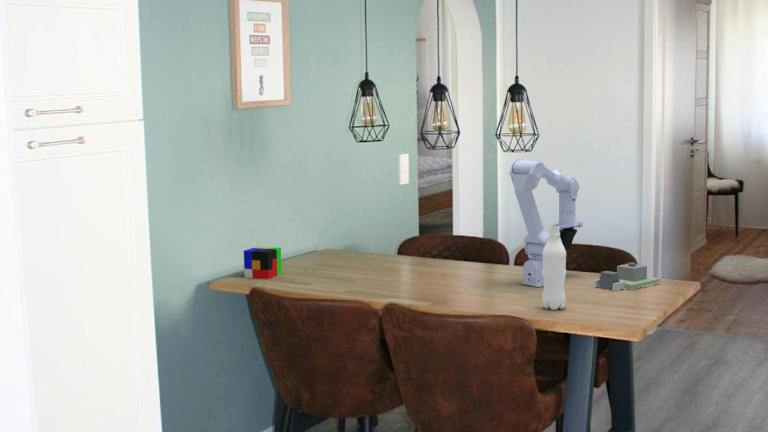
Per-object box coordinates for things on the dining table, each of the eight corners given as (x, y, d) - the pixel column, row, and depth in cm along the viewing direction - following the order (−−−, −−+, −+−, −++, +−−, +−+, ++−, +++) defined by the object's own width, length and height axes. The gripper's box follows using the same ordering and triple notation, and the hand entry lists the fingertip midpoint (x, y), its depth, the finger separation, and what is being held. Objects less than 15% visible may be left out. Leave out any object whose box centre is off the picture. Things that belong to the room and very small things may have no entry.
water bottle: (551, 311, 287) (552, 229, 283) (537, 307, 293) (537, 226, 290) (570, 308, 290) (571, 227, 287) (556, 304, 296) (556, 224, 293)
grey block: (611, 290, 316) (612, 274, 315) (599, 288, 319) (599, 272, 319) (619, 288, 318) (619, 272, 317) (606, 286, 322) (607, 270, 321)
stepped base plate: (621, 292, 312) (621, 271, 311) (589, 286, 322) (589, 265, 321) (660, 283, 325) (660, 262, 324) (628, 278, 335) (629, 258, 334)
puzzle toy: (244, 277, 349) (243, 250, 348) (258, 272, 359) (257, 246, 357) (268, 279, 346) (267, 252, 344) (281, 274, 355) (280, 247, 354)
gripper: (562, 214, 329) (562, 252, 331) (589, 210, 338) (589, 248, 340) (546, 212, 335) (546, 250, 337) (573, 208, 344) (573, 245, 346)
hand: (566, 249), depth 339 cm, fingers closed
